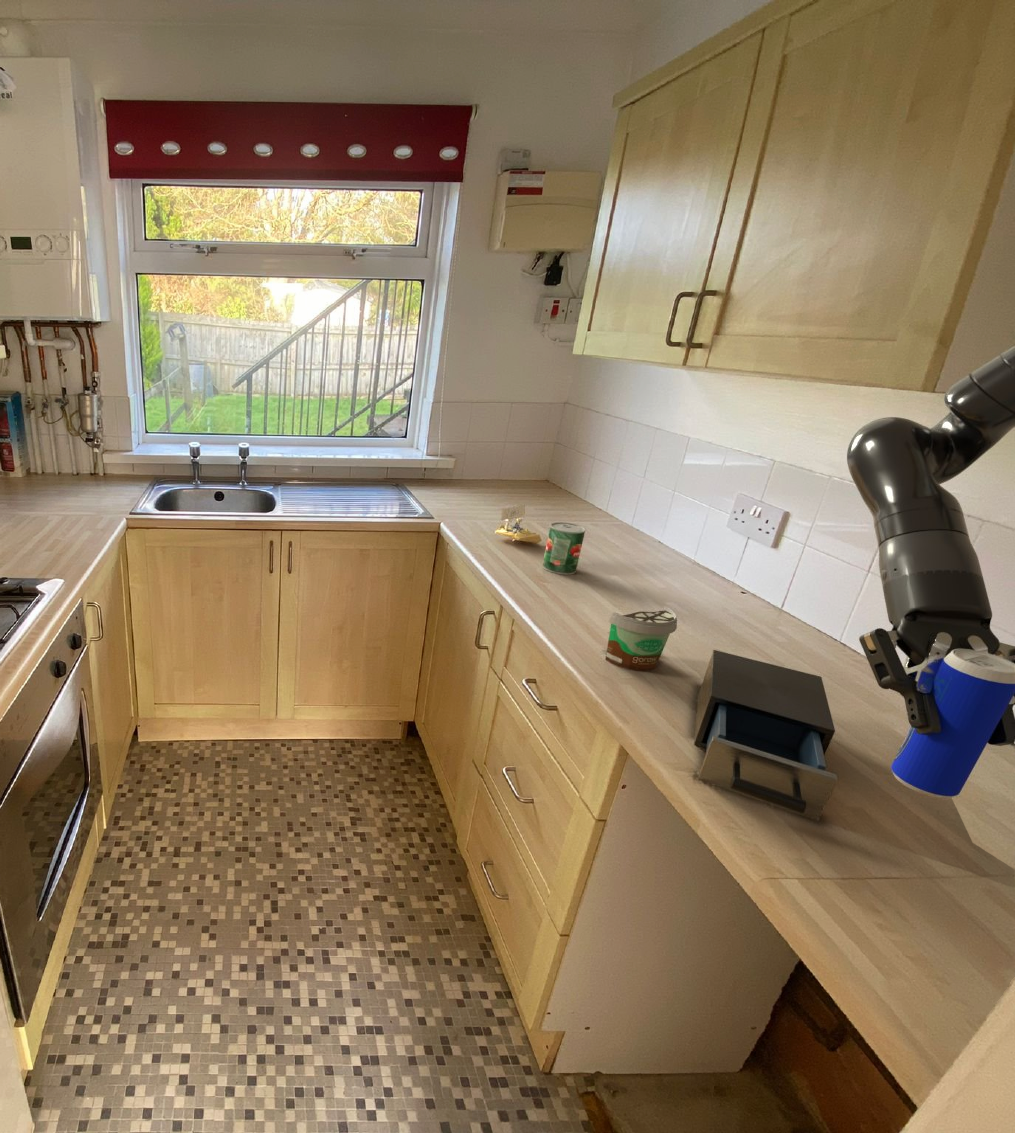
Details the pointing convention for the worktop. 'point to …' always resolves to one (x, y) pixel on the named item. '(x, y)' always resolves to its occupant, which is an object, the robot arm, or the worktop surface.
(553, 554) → the canned tomato
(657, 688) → the worktop surface
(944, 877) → the worktop surface
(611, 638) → the food container
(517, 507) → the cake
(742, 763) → the drawer
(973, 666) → the beverage can
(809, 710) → the cabinet
